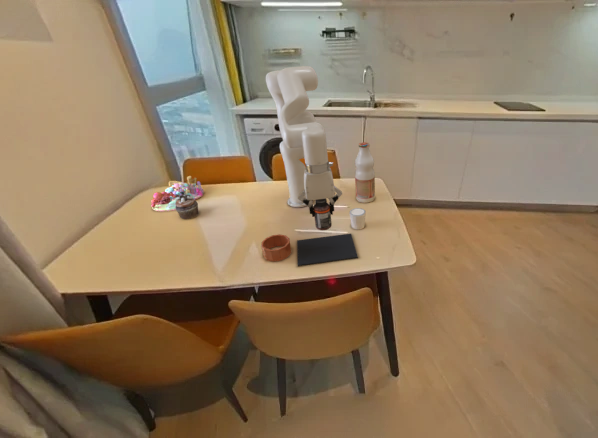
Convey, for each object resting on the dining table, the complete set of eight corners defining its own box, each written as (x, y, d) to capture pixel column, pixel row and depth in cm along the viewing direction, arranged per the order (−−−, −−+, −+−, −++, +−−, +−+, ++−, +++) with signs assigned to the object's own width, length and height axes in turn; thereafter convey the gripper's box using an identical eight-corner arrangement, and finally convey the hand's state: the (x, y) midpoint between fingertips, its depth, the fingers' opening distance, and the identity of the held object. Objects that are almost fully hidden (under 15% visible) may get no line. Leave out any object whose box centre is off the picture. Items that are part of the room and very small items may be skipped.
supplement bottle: (315, 223, 119) (312, 196, 113) (331, 221, 119) (329, 195, 113) (315, 231, 114) (311, 204, 108) (331, 230, 114) (329, 202, 108)
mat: (297, 241, 127) (297, 240, 127) (351, 234, 130) (351, 233, 130) (297, 266, 114) (297, 265, 113) (357, 258, 117) (357, 256, 116)
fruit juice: (361, 204, 152) (359, 148, 137) (352, 197, 159) (350, 142, 145) (378, 200, 155) (378, 144, 141) (369, 193, 163) (368, 139, 148)
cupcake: (173, 218, 147) (166, 199, 142) (190, 208, 155) (183, 190, 150) (189, 221, 144) (182, 202, 139) (205, 211, 152) (199, 192, 147)
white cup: (364, 230, 132) (364, 216, 129) (348, 229, 134) (347, 215, 130) (367, 222, 138) (367, 208, 134) (352, 221, 139) (351, 207, 136)
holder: (264, 246, 125) (262, 236, 122) (291, 243, 126) (289, 233, 124) (262, 263, 116) (260, 252, 114) (291, 259, 117) (289, 248, 115)
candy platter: (157, 194, 171) (151, 178, 166) (204, 185, 178) (199, 170, 173) (150, 215, 151) (143, 197, 146) (203, 204, 158) (198, 188, 153)
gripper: (341, 160, 109) (344, 206, 118) (290, 165, 107) (298, 211, 116) (344, 168, 103) (347, 216, 112) (290, 173, 100) (298, 222, 109)
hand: (322, 213), depth 114 cm, fingers closed on supplement bottle, 6 cm apart
